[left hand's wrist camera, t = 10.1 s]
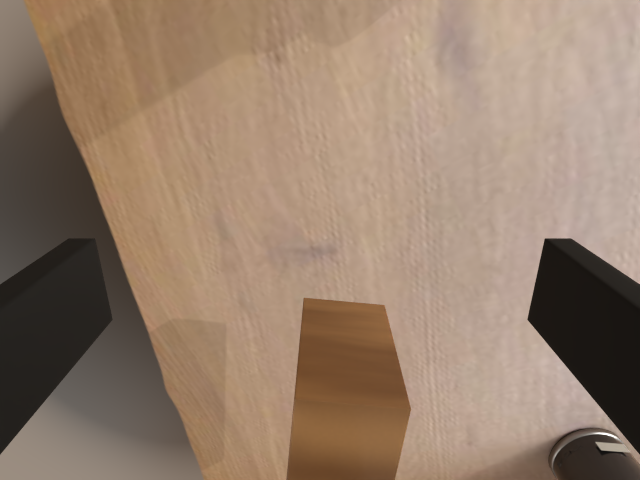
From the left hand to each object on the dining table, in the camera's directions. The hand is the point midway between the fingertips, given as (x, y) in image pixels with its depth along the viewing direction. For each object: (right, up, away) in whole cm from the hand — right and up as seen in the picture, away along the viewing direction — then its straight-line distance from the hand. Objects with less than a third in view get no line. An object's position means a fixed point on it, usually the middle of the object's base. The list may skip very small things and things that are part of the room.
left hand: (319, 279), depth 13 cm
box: (+1, -13, +23) cm, 27 cm away
